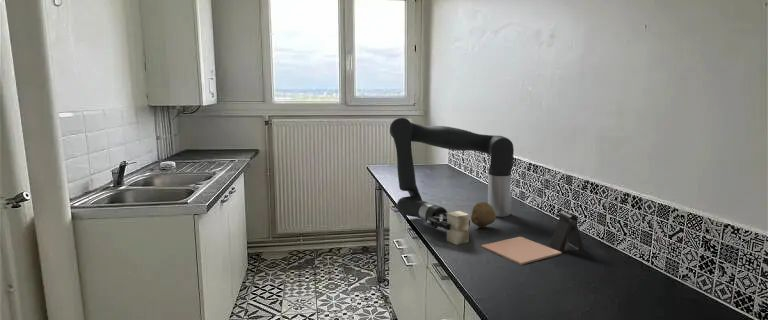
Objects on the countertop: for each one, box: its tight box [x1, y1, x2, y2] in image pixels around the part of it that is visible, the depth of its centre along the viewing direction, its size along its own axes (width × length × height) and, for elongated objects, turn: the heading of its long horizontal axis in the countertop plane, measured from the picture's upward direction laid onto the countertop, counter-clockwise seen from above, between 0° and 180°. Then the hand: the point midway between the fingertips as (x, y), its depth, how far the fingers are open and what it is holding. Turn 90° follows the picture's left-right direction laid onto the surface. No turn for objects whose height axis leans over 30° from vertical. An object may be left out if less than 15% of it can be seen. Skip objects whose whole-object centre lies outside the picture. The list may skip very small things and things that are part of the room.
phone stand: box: [549, 210, 585, 253], centre depth 149 cm, size 9×6×12 cm, turn 99°
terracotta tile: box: [480, 236, 563, 266], centre depth 148 cm, size 18×18×1 cm
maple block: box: [446, 210, 470, 245], centre depth 158 cm, size 5×5×10 cm
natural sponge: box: [470, 201, 496, 228], centre depth 172 cm, size 9×9×10 cm
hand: (459, 225), depth 156 cm, fingers open, 8 cm apart
